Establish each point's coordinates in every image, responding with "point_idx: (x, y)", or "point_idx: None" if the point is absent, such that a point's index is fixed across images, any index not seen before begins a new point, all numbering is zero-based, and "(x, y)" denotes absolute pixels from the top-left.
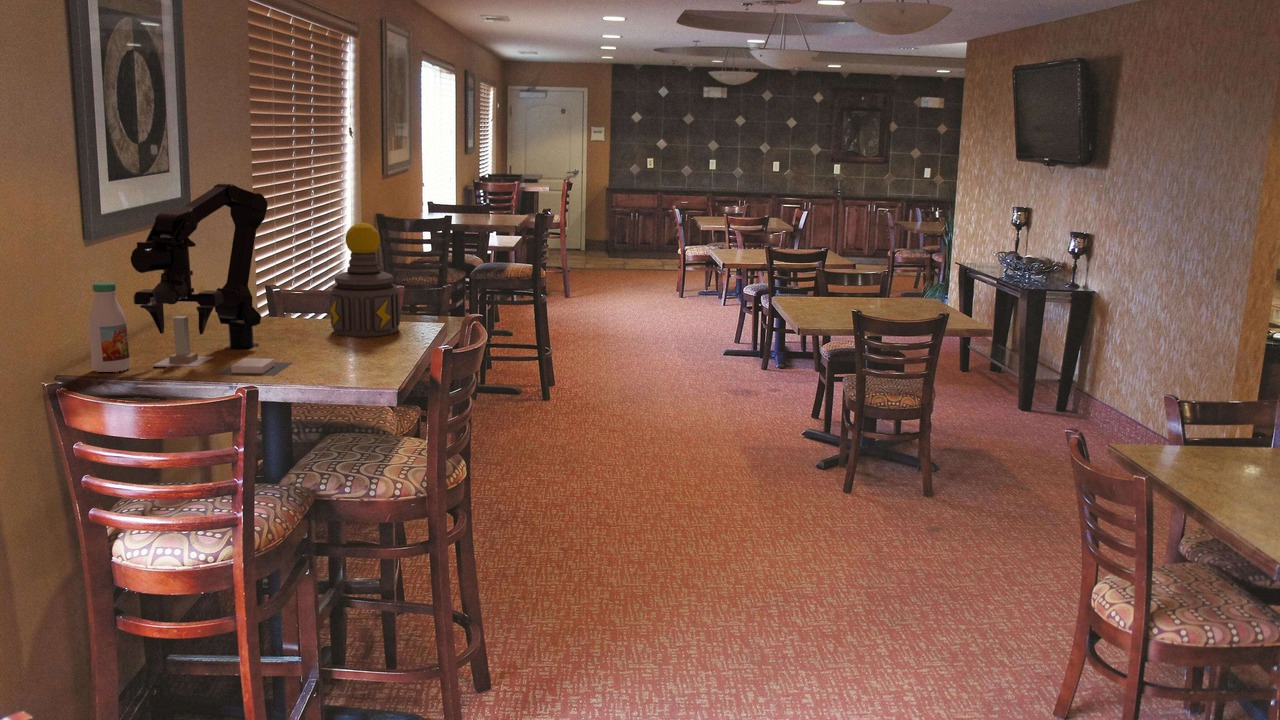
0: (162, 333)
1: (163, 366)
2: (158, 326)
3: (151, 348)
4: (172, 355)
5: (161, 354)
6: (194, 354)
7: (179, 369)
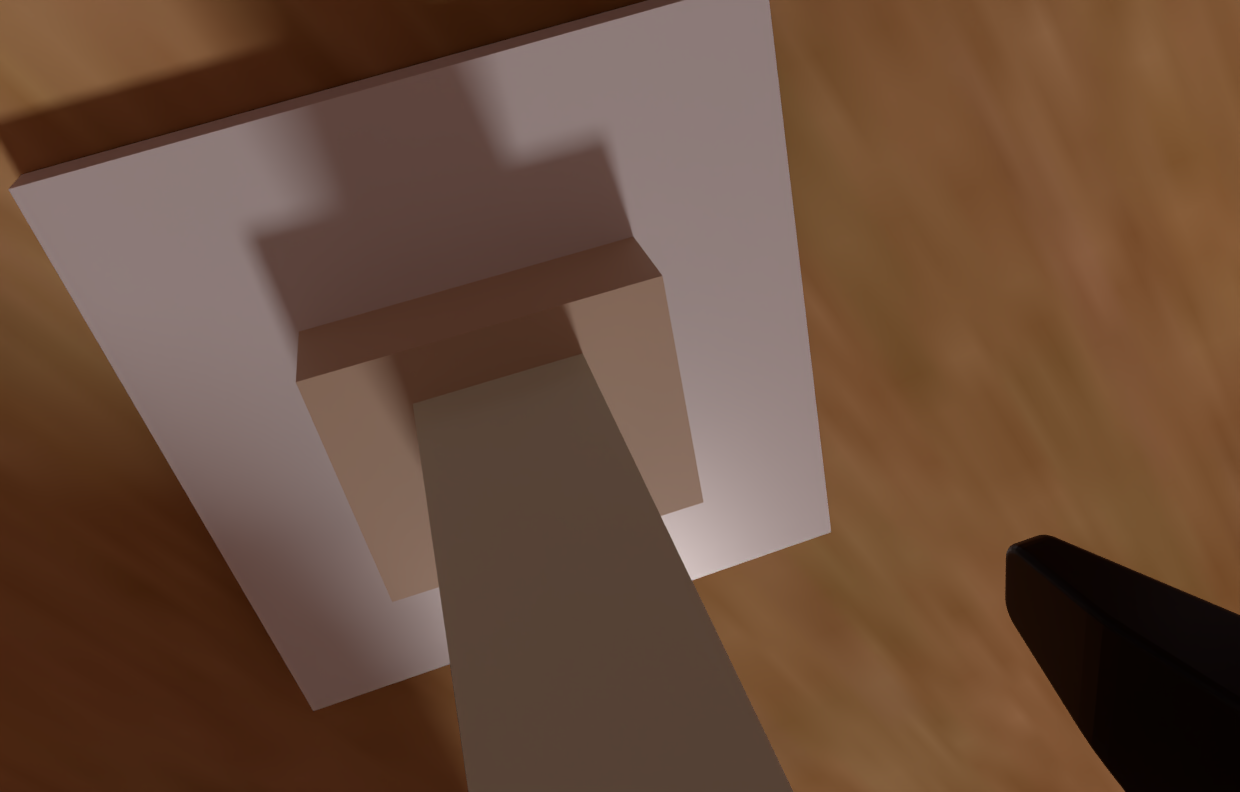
0: (1006, 564)
1: (588, 24)
2: (1180, 619)
3: None
4: (643, 341)
5: None
6: (364, 525)
7: (255, 22)
